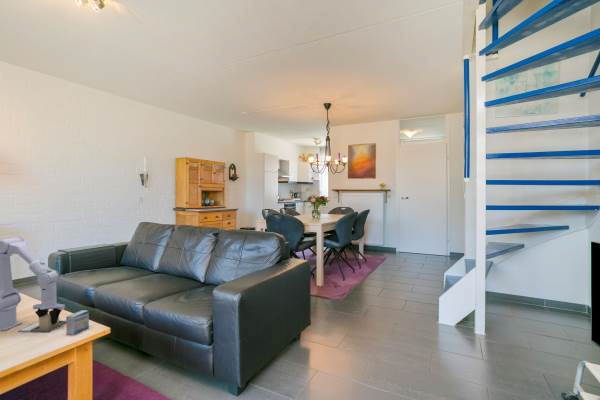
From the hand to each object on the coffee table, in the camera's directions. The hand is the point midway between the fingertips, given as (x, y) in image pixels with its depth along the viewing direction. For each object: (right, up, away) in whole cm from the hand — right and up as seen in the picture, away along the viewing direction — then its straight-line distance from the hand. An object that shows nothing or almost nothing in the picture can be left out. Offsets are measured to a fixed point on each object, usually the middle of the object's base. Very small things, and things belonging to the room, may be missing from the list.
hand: (49, 323), depth 143 cm
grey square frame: (0, -2, 0) cm, 2 cm away
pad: (-8, -2, 0) cm, 8 cm away
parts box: (0, -2, 0) cm, 2 cm away
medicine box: (+17, -2, -4) cm, 17 cm away
